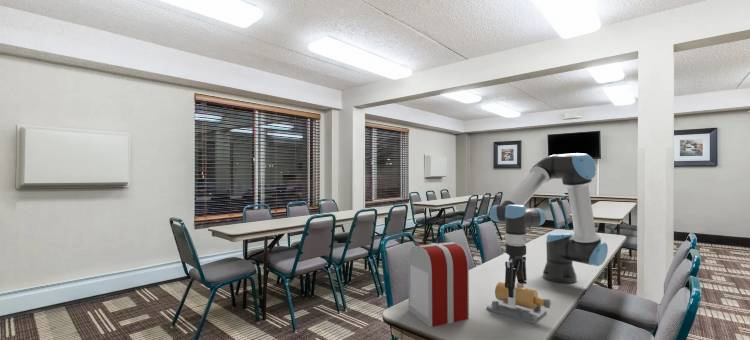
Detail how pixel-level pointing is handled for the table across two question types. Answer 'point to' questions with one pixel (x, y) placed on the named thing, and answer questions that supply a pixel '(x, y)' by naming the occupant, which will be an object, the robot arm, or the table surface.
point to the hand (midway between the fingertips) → (516, 302)
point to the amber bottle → (521, 296)
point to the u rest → (517, 311)
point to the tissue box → (439, 283)
